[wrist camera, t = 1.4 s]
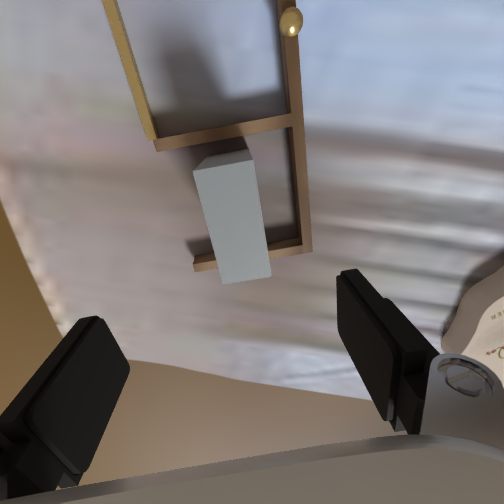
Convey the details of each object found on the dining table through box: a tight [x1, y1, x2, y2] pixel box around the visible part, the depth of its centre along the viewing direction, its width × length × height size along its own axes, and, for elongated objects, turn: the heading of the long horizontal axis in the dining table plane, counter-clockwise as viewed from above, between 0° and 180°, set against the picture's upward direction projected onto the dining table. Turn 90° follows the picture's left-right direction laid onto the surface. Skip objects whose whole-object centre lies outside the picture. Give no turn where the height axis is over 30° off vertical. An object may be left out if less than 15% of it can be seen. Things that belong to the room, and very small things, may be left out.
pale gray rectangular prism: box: [193, 149, 272, 285], centre depth 22 cm, size 4×9×9 cm, turn 10°
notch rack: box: [102, 0, 313, 272], centre depth 22 cm, size 14×26×3 cm, turn 10°
